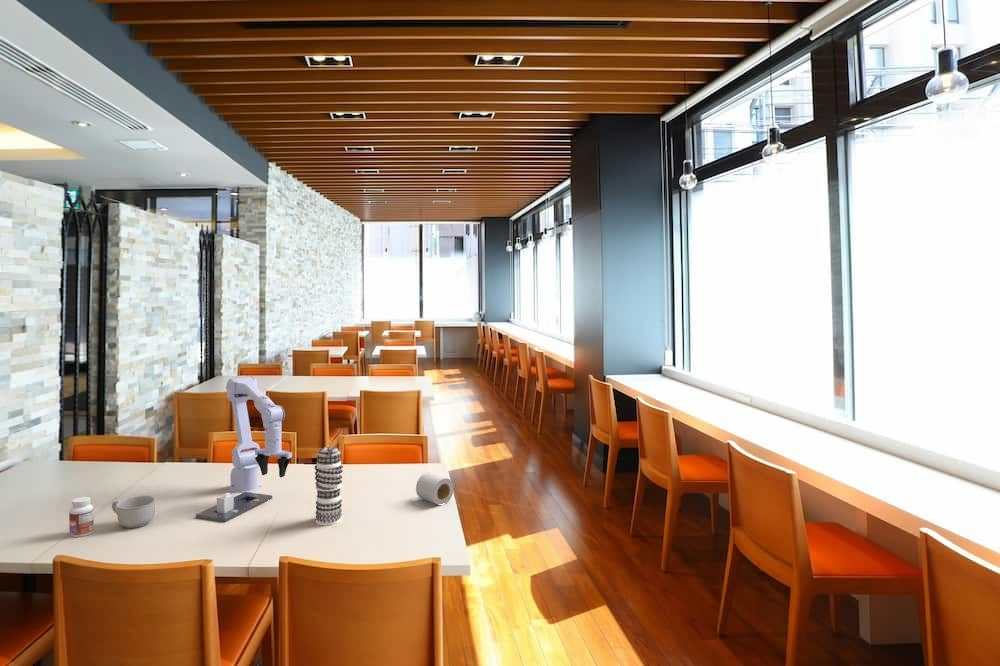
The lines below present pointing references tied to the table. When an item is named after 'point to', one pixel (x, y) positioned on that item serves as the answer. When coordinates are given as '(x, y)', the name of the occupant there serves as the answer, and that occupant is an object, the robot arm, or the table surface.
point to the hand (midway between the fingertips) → (273, 475)
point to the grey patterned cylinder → (328, 486)
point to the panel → (235, 507)
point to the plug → (225, 503)
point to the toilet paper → (434, 488)
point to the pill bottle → (81, 517)
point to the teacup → (135, 510)
